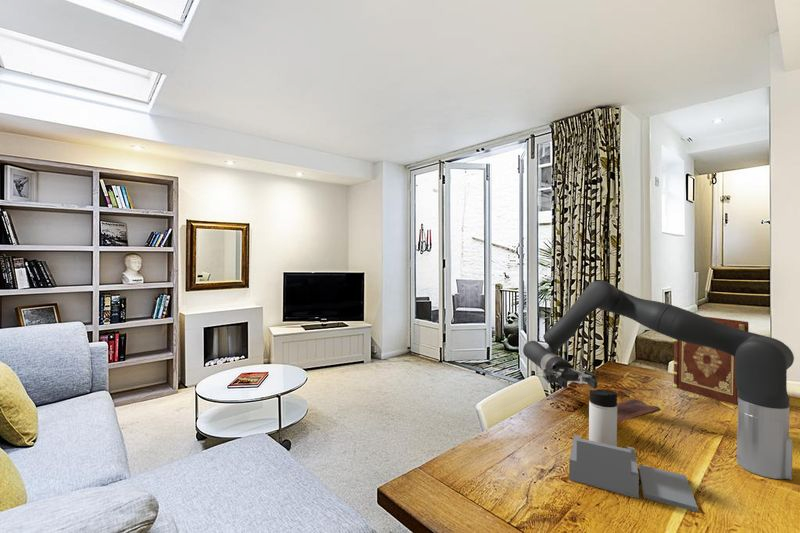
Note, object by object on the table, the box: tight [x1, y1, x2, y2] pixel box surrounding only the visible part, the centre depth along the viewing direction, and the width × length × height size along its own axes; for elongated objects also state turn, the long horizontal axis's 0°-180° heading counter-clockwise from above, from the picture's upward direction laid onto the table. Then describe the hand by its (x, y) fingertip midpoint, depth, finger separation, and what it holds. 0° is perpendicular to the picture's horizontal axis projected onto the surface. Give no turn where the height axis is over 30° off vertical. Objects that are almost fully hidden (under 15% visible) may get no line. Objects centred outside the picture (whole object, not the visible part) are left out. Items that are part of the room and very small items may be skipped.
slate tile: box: [638, 464, 699, 513], centre depth 84 cm, size 10×13×1 cm
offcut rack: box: [568, 434, 640, 500], centre depth 90 cm, size 14×14×10 cm
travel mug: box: [588, 388, 618, 447], centre depth 93 cm, size 6×7×20 cm
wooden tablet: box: [617, 398, 661, 423], centre depth 127 cm, size 26×2×10 cm
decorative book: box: [672, 316, 750, 406], centre depth 143 cm, size 22×8×30 cm, turn 25°
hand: (580, 385), depth 104 cm, fingers open, 8 cm apart
